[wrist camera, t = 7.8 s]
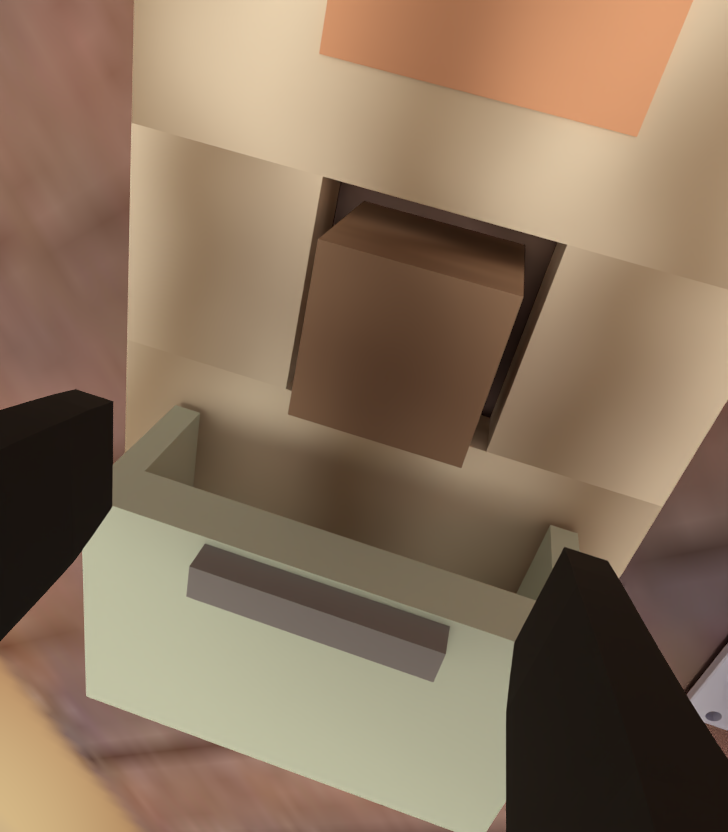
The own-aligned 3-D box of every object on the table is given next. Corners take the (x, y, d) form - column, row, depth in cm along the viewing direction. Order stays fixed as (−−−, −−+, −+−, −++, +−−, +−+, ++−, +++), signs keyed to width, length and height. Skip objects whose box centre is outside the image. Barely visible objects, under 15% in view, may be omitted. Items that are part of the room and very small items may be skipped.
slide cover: (577, 533, 18) (594, 698, 13) (489, 700, 22) (478, 871, 17) (175, 405, 19) (59, 515, 14) (163, 587, 23) (69, 719, 18)
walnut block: (525, 244, 17) (523, 296, 13) (474, 387, 19) (461, 468, 15) (365, 200, 17) (318, 238, 13) (334, 346, 20) (287, 414, 16)
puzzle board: (1121, -360, 10) (1254, -457, 8) (543, 656, 24) (544, 707, 22) (203, -525, 12) (140, -641, 10) (150, 523, 25) (119, 559, 23)
